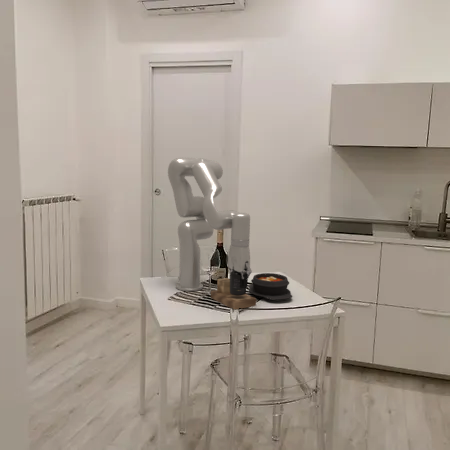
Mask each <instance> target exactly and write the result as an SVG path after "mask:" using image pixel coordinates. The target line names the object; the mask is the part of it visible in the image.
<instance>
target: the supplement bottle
mask: <svg viewBox="0 0 450 450" xmlns="http://www.w3.org/2000/svg"><path fill="white" fill-rule="evenodd" d="M232 270H233V271H232V272H231V273H230V272H229V279H230V294H232V295H237V296H239V295H244V294H247V288H240V281H241V278H242V277H241V272H237V271H235V270H234V269H232ZM243 274H245V272H244V273H243Z"/></svg>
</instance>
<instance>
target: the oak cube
mask: <svg viewBox="0 0 450 450" xmlns="http://www.w3.org/2000/svg"><path fill="white" fill-rule="evenodd" d="M216 284H217V285H216V286H217V288H216V290H217V291H219V292H222V293H229V292H230V278H228V277H226V278H225V277H224V278H218V279H217V283H216Z"/></svg>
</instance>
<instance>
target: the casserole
mask: <svg viewBox="0 0 450 450" xmlns="http://www.w3.org/2000/svg"><path fill="white" fill-rule="evenodd" d="M250 283H251V284H249V285H248V288H249V290H248V291H249V293H251V294H252V295H254V296H257V297H259V298H263V299H267V300H271V301H272V300H273V301H279V300H280V301H281V300H283V301H284V300H288V299H291V298H293V295H292V293H291V290H290V289H289V288H288V287H289V284H290V281H289V280H288V277H287V276H285V275H283V274H280V273H273V272H271V273H270V272H268V273H267V272H264V273H257V274H254V275H253V277H252V279H251V281H250Z"/></svg>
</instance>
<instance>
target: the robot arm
mask: <svg viewBox="0 0 450 450" xmlns="http://www.w3.org/2000/svg"><path fill="white" fill-rule="evenodd" d="M223 174H224V172H223V167H222V165H221V164H220V163H219V162H218V161H215V160H210V159H207V158H206V159H205V158H201V157H178V158H174V159H173V160H171V161H170V162H169V165H168V167H167V176H168V180H169V183H170V186H171V189H172V192H173V197H174V201H175V207H176V212H177V214H178V216H179V217H180V218H183V219H185V218H186V219H187V218H188V220H183V221H182V222H181V223H179V224H178V226H177V234H178V242H179V275H178V277H177V279H178V281H179V282H178V283H176V284H175V288H176V289H177V290H180V291H184V292H185V291H186V292H195V291H200V290H202V289H203V288H204V285H203V283H201V247H200V246H199V243H198V241H201V240H207V239H210V238H212V236H213V234H214V230H219V231H220V230H226V229H230V233H231V235H230V246H229V249H228V258H227V267H228V269H229V274H230V273H231V272H232V271H233V270H232V269H234V270H235V271H237V272H241V277H242V278H241V281H240V288H246V289H247V287H248V281H249V277H250V275H251V274H252V271H253V270H252V268H251V252H250V237H251V236H250V234H251V233H250V232H251V231H250V229H251V216H250V214H249V213H246V212H240V211H237V210H221V211H220V210H219V211H218V209H217V207H216V204H215V202H214V199H216V198H217V197H218V196H219V195H220V194H221V193H222V191H223V188H222V186H221V183H220V181H219V180H220V179H221V178H222V176H223ZM186 177H194V179H195V183H197V185H198V187H199V189H200V191H201V193H202V194H203V196H199V195H198V196H194V194H193V189H192V187H191V184H190V182H189V181H188V180H187V179H186ZM189 218H195V219H189ZM244 272H245V274H243V273H244Z"/></svg>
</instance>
